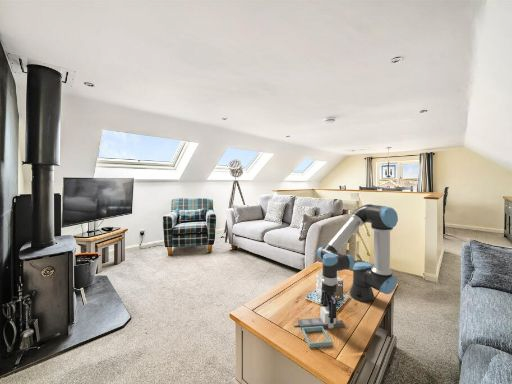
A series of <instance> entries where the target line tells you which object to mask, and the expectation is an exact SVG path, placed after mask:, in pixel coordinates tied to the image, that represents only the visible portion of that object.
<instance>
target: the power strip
mask: <svg viewBox="0 0 512 384" xmlns="http://www.w3.org/2000/svg"><path fill="white" fill-rule="evenodd" d="M319 326H322V327H323V328H324V329H329V328H328V324H324V322H323V321H322V319H321V318H320V317H317V318H304V319H303V318H301V319H300V318H299V319H297V325H295V324H294V325H293V327H294V328H300V330H301V331H302V328H305V327H319ZM342 327H345V323H344V320H343V319H342V318H341V317H340V316H336V324H334V325H333V328H342Z"/></svg>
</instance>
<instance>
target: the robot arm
mask: <svg viewBox="0 0 512 384" xmlns="http://www.w3.org/2000/svg"><path fill="white" fill-rule="evenodd" d="M398 221H399V218H398V213H397V211H396V210H395V209H394V208H392V207H390V206H386V205H377V204H363V205H361V206H360V207H358V208H356V209H355V210H354V211H352V213H351V214H350V215H349V219H348V220H347V221H346V222H345V223H344V224H343V226H342V227H341V228H340V229H339V230H338V231H337V233H336V234H335V235H334V236H333V237H331V239H330V240H329V242H328V243H327V244H326V245H325V246H320V247H318V248H317V250H316V256H317V257H318V258H319V259H320V260H322V267H321V268H322V274H321V275H322V276H321V295H320V297H321V299H320V305H321V307H327V306H328V308H329V316H328V328H327V329H334V327H333V325H334V318H336V317H337V304H338V303H337V302H338V300H337V299H335V292H336V291H337V284H338V283H337V282H338V272H340V271H345V270H350V269H352V270H353V271H352V283H351V287H350V289H349V296H350V297H351V298H353V299H354V300H355V301H359V302H363V303H371V302H373V301H374V300H375V294H374V291H373V289H375V290H376V291H379V293H383V294H385V295H390V294H392V293H393V292H394V291H395V290H396V288H397V286H398V280H397V278H396V276H394V275H393V270H392V269H391V268H390V267H391V266H390V265H391V263H390V261H391V256H390V255H391V253H390V251H391V231H392V230H394V228H395V227H396V226H397V225H398ZM366 223H370V227H371V229H372V230H373V264H372V263H369V262H365V261H360V262H359V261H358V262H355V259H354V257H353V256H352V255H351V254H341V253H339V252H340V250H341V249H342V248H343V247H344V245H346V243H347V242H348V241H349V240H350V239H351V237H352V236H353V235H354V234H355V233H356V231H357V230H358V229H359V228H360V227H361V226H364V225H365V224H366ZM372 300H373V301H372ZM370 301H371V302H370Z"/></svg>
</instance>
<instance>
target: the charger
mask: <svg viewBox="0 0 512 384" xmlns="http://www.w3.org/2000/svg"><path fill="white" fill-rule="evenodd" d="M319 313H320V316H319V318H321V319H322V321H323V322H324V324H328V316H329V308H328V306H327V307H322V306H320V310H319ZM334 324H336V318H334Z"/></svg>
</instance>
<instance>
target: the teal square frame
mask: <svg viewBox="0 0 512 384" xmlns="http://www.w3.org/2000/svg"><path fill="white" fill-rule="evenodd" d="M307 332H308V333H309V332H322V334H323V335H324V338H325V340H327V341H314V342H313V341H312V342H310V340H309V337H308V335H307V334H306V333H307ZM301 333H302V334H303V335H302V336H304V339H305V341H306V343H307V345H308V347H309V348H310V349H311V348H320V347H321V348H322V347H331V346H333V345H332V343H333V342H332V340H331V338H330V337H329V335H328V333H327V332H326V330H325V328H323V327H322V326H319V327H305V328H302V330H301Z"/></svg>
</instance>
